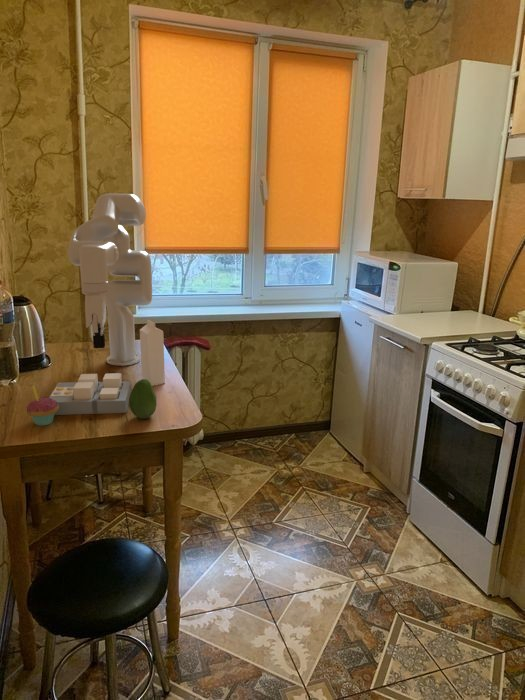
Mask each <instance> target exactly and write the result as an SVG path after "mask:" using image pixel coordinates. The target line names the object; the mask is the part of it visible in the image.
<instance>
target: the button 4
mask: <svg viewBox="0 0 525 700" xmlns="http://www.w3.org/2000/svg"><path fill="white" fill-rule="evenodd" d="M118 398H119V388H102V389H101V392H100V399H118Z"/></svg>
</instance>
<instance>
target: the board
mask: <svg viewBox="0 0 525 700" xmlns="http://www.w3.org/2000/svg"><path fill="white" fill-rule="evenodd" d="M75 384H76V381H71V382H67V381H65V382H63V381H62V382H60V381H59V382H58V383H57V384H56V386H55V387H54V389H53V390H52V392H51V393H50V395H49V396H48V398H51V399H54V400H55V401H56V402H58V405H59V410H58V411H57V412H56V413H55V414H54V416H60V415H61V416H63V415H65V416H66V415H90V414H91V415H92V414H93V415H95V414H97V415H98V414H125V413H127V410H128V407H129V398H130V395H131V392H132V389H133V387H132V380H123V381H122V389H121V390H119V398H118V399H100V392H101V389H102V388H104V387H103V381H98V389H97V390H94V398H93V399H92V400H74V393H73V388H74V386H75Z"/></svg>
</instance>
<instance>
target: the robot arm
mask: <svg viewBox="0 0 525 700" xmlns="http://www.w3.org/2000/svg"><path fill="white" fill-rule="evenodd" d="M145 220H146V208H145V205H144V203H143V202H142V200H141V199H140V197H139V196H137V195H135V194H133V193H115V192H114V193H113V192H112V193H110V192H109V193H103V194H101V195H99V196H98V197H97V198H96V202H95V204H94V208H93V213H92V218H91V219H89V220H87V221H85V222H84V223H82V224H80V225H79V226H78V227H76V228H75V229H74V230H73V232H72V234H71V236H70V239H69V243H68V249H67V254H68V255H67V257H68V260H69V261H70V263H71V264H72V265H73V266H77V267H78V266H79V269H80V279H81V280H80V284H81V293H82V294H83V295H84V308H85V309H84V313H85V314H84V315H85V327H86V328H87V329H90V327H91V328H92V343H93V349H104V348H105V347H106V336H105V327H104V326H105V324H106V321H107V323H108V338H109V342H108V343H109V352H110V353H109V355H108V357H106V363H107V364H109V365H112V366H118V367H120V366H121V367H124V366H132V365H135V364H138V363H139V362H141V356H139V355H138V354H136V335H135V334H136V333H135V332H136V331H135V317H134V313H132V311H131V310H130V308H129V306H132V307H133V306H134V307H135V306H137V307H140V306H148V305H150V304H151V303H152V300H153V281H152V280H153V277H152V276H153V275H152V270H153V269H152V260H151V256H150V254H149V253H148V252H147V251H145V250H133V249H131V238H130V234H129V233H128V231H127V230H126V229H125V228H124V226H128V227H129V226H135V227H139V226H142V225H144V222H145ZM108 274H110V275H111V276H115V277H137V278H138V279H113V280H110V281H109V275H108Z"/></svg>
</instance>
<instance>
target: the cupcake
mask: <svg viewBox="0 0 525 700" xmlns="http://www.w3.org/2000/svg"><path fill="white" fill-rule="evenodd" d="M31 386H32V387H31V388H32V391H33V394H34V397H35V399H33V400H31V401H30V402H29V403H28V404H27V406H26V407H25V409H26V412H27V414H28V415H29V416H31V418H32V420H33V422H34V424H35V425H36V426H48V425H50V424H52V423H53V422H54V417H55V415H54V414H55V413H56V412H57V411H58V410H59V405H58V402H56V401H55V400H54V399H51V398H49V397H39V396H38V393H37V389H36V387H35V385H34V384H33V383H31Z"/></svg>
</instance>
